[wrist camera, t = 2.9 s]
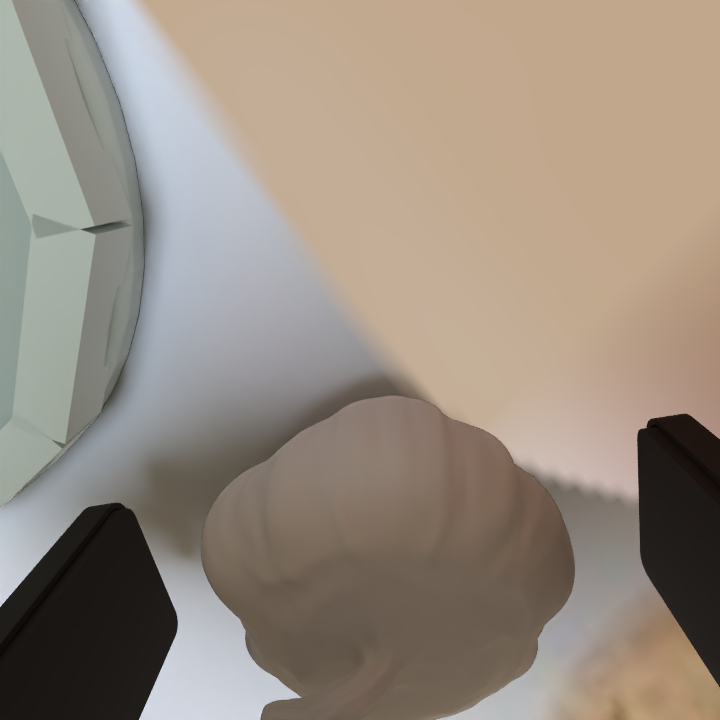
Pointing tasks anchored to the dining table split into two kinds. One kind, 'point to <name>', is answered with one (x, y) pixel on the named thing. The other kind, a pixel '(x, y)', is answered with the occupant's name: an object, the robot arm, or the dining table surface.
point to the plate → (60, 236)
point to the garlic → (388, 564)
